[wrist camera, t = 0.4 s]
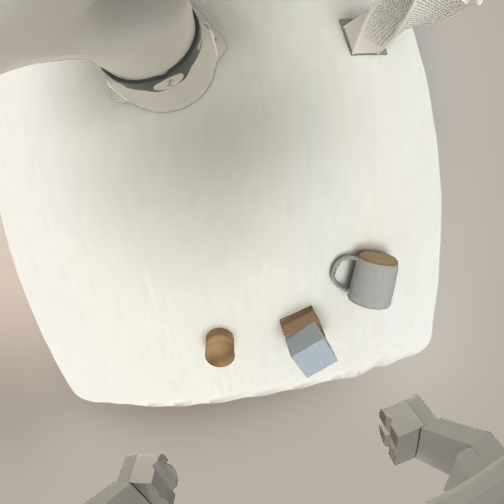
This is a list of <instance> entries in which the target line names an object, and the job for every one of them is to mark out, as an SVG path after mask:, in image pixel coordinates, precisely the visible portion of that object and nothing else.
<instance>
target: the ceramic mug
mask: <svg viewBox="0 0 504 504" xmlns="http://www.w3.org/2000/svg"><path fill="white" fill-rule="evenodd" d="M346 259H352V260H356V263H355V267H354V271H353V275H352V279H351V282H350V286H349V288H347V287H344V286H342V285H341V284H339V283H338V282H337V281H336V279H335V272H336V269H337V267H338V266H339V265H340V263H341V261H343V260H346ZM397 272H398V261H397V260H396V258H394V257H393V256H391V255H388V254H385V253H381V252H376V251H363V252H361V253H360V254H359V255H358V256H357V257H356V256H352V255H350V256H343V257H340V258H339V259H338V260H337V261H336V262H335V263H334V265H333V268H332V271H331V278H332V281H333V283H334V284H335V285H336V286H337V287H338V288H340V289H341V290H343V291H345V292H348V294H347V296H348V298H349V300H350V301H352V302H353V303H355V304H357V305H359V306H362V307H366V308H369V309H377V310H380V309H386V308H388V307H389V306H390V305H391V300H392V296H393V292H394V287H395V282H396V277H397Z"/></svg>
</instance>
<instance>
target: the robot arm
mask: <svg viewBox="0 0 504 504" xmlns="http://www.w3.org/2000/svg"><path fill="white" fill-rule="evenodd" d="M215 39H216V40H217V41H216V42H215ZM226 47H227V46H226V42H225V41H224V39H223V38H222V37H221V36H220V35H219V34H218V33H217V31H216V30H215V29H214V28H213V27H212V26H211V25H210V24H209V22H208V21H207V20H206V19H205V18H204V17H203V16H202V15H201V14H200V13H199V11H198V10H197V9H196V8H195V7H194V6H193V5H192V4H191V3H190V0H0V75H1V74H3V73H6V72H8V71H11V70H14V69H17V68H21V67H24V66H29V65H33V64H38V63H44V62H52V61H62V60H86V61H89V62H92V63H94V64H96V65H98V66H100V67H101V69H102V71H103V73H104V74H106V75H107V77H108V81H107V85H108V86H109V87H110V91H111V96H112V98H113V100H115V101H116V102H119V103H133V104H135V105H137V106H139V107H141V108H143V109H145V110H148V111H152V112H161V113H162V112H172V111H176V110H179V109H182V108H184V107H187V106H188V105H190V104H192V103H193V102H195V101H196V100H197V99H199V98H200V97H201V96H202V95H203V94H204V92H205V91H206V90H207V89H208V87H209V86H210V84H211V82H212V80H213V77H214V73H215V69H216V64H217V62H218V60H219V59H220V57H221V56H222V55H223V53H224V52H225V50H226ZM379 414H380V415H379V417H380V419H381V423H380V424H379V428H380V435H381V438H382V441H383V443H384V444H385V446H387V447H389V455H390V457H391V459H392V461H393V463H394V465H398V464H400V463H403V462H405V461H407V460H410V459H412V458H415V457H416V458H417V459H419V460H421V461H423V462H425V463H426V464H428V465H430V466H432V467H434V468H437V469H438V470H440V471H443V472H445V473H447V474H449V475H450V476H449V478H448V480H447V483H446V485H445V487H444V491H445V493H443V494H441V495H439V496H437V497H435V498H433V499H431V500H429V501H427V502H425V503H423V504H504V448H503V446H502V445H501V444H500V443H499V441H498V440H497V439H496V438H495V437H494V436H493V434H492V433H491V432H488V431H484V430H480V429H477V428H473V427H469V426H465V425H462V424H459V423H455V422H452V421H448V420H445V419H442V418H440V419H438V420H437V418H436V417H435V416H434V414H432V412H431V410H430V409H429V408H428V407H427V405H426V404H425V403H424V401H423V400H422V399H421V398H420V396H419V395H414V396H412V397H410V398H408V399H405V400H403V401H400V402H398V403H396V404H393V405H391V406H388V407H386V408H383V409H381V410H380V412H379ZM167 461H168V459H167V458H166V456H165V455H164V454H128V455H127V456H126V458H125V461H124V463H123V466H122V469H121V471H120V474H119V476H118V479H117V482H112V483H111V484H110V485H109V486H107V487H106V488H105V489H103V490H102V491H101V492H99V493H98V494H97V495H95V496H94V497H93V498H91V499H90V500H89V501H87V502H86V503H84V504H174V499H175V493H174V492H173V489H174V488H175V487H176V486H177V483H178V479H177V478H178V477H177V473H176V470H175V468H174V467H173V466H172V465H170V464H168V463H167Z"/></svg>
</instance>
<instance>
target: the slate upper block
mask: <svg viewBox="0 0 504 504" xmlns="http://www.w3.org/2000/svg"><path fill="white" fill-rule="evenodd" d="M285 339H286V343H287V346H288V349H289V352H290V355H291V358H292V359H293V360H294V361H295V363H296V364H297V365H298V367H299V368H300V369H301V370H302V372H303V373H304V374H305V376H306V377H307V378H308V377H310V376H312V375H314V374H315V373H317V372H319V371H321V370H322V369H324V368H326V367H328V366H329V365H331V364H333V363H334V362H336V361H338V360H337V358H336V356H335V354H334V352H333V350H332V348H331V346H330V345H329V343H328V341H327V340H326V338H325V336H324V335H323V333H322V332H321V330H320V329H319V327H318V325H317V324H316V322H315V321H314V322H313V323H311V324H309V325H308V326H306V327H304V328H303V329H301V330H299V331H298V332H296V333H294V334H292V335H291V336H289V337H287V338H285Z"/></svg>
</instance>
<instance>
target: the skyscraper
mask: <svg viewBox="0 0 504 504" xmlns="http://www.w3.org/2000/svg"><path fill="white" fill-rule="evenodd" d="M482 1H483V0H478V1H477V2H474V3H469V0H375V1H374V2H373V4H372V5H371V7H370V9H369V10H368V11H366V12H364V13H363V14H361V15H360V16H358V17H357V18H355V19H340V20H339V21H340V24H341V27H342V29H343V32H344V35H345V38H346V41H347V44H348V47H349V50H350V53H351V55H387V51H386V47H387V46H388V45H389V44H390V43H391V42H392V41H393V40H394V38H395V37H396V36H397V35H398V34H399V33H401V32H402V31H404V30H407V29H409V28H412V27H419V26H427V25H431V24H436V23H439V22H442V21H444V20H447V19H449V18H451V17H453V16H455V15H457V14H459V13H460V12H462V11H464V10H466V9H467V8H469V7H475V6H480V5H481V3H482ZM468 3H469V4H468Z"/></svg>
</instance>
